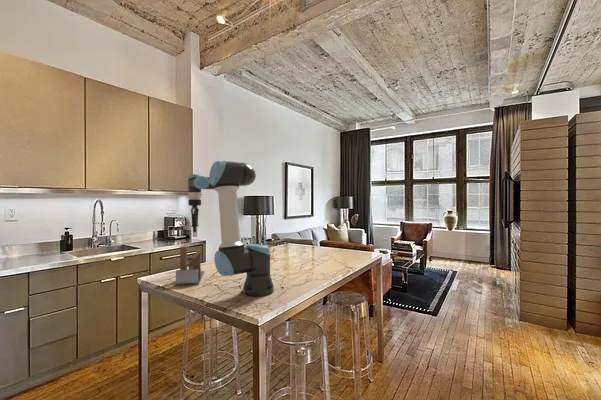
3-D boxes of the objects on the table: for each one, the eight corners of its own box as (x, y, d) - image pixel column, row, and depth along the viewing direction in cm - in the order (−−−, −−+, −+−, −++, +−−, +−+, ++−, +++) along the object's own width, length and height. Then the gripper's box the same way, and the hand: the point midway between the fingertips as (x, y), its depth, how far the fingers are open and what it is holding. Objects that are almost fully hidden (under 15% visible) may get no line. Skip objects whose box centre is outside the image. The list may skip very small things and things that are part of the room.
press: (198, 284, 150) (198, 269, 150) (174, 286, 148) (174, 270, 148) (204, 273, 173) (204, 260, 173) (183, 274, 171) (183, 261, 170)
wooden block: (200, 278, 158) (200, 246, 158) (179, 280, 154) (179, 247, 154) (200, 276, 161) (200, 245, 161) (179, 278, 157) (179, 246, 157)
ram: (196, 276, 160) (195, 258, 160) (184, 277, 159) (184, 259, 159) (197, 274, 165) (197, 256, 165) (186, 275, 164) (186, 257, 164)
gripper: (199, 199, 170) (199, 238, 170) (202, 199, 183) (202, 235, 182) (186, 199, 168) (186, 238, 168) (190, 199, 181) (190, 236, 181)
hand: (195, 237), depth 175 cm, fingers closed
